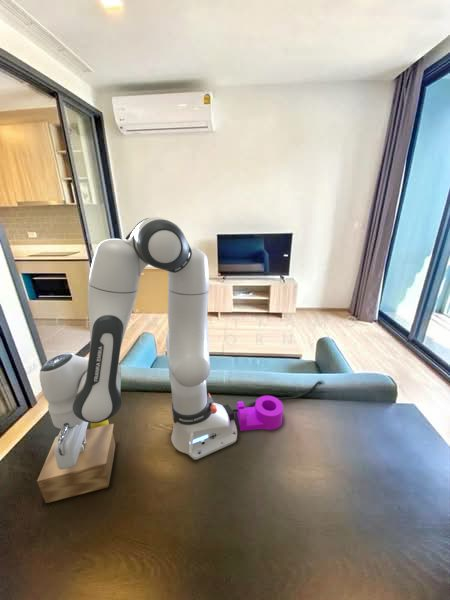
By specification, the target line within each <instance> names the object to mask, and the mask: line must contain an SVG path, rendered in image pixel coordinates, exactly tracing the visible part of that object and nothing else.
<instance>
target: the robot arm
mask: <svg viewBox="0 0 450 600" xmlns="http://www.w3.org/2000/svg"><path fill="white" fill-rule="evenodd" d="M148 266H151V267H153V268H155V269H159V270H162V271H166V272H167V277H168V282H167V325H168V330H167V334H166V337H165V349H166V357H167V364H168V365H167V366H168V373H169V382H170V390H171V398H172V399H171V400H172V402H171V416H172V421H173V428H172V431H171V437H170V438H171V443H172V446H173V447H174V448H175V449H176V450H177V451H178V452H180V453H183V454H186V455H188V456H189V457H190V458H191V459H192V460H197V461H198V460H199V459H202V458H203V457H207V456H208V455H211V454H212V453H215V452H218V451H220V450H221V449H224V448H226V447H228V446H230V445H232V444H235V443H236V442H237V440H238V429H237V425H236V422H235V413H237V412H238V410H237V408H235V409H232V408H231V406H230V405H229V404H228V403H226V404H223V405H222V404H220V403H217V402H214V399H213V398H212V396H211V393H209V392H208V389H207V380H208V377H209V376H210V373H211V360H210V359H211V358H210V337H209V336H210V335H209V326H208V325H209V324H208V321H209V320H208V313H209V312H208V310H209V297H210V295H209V294H210V269H209V261H208V256H207V255H206V253H205V252H204V251H202V250H201V249H199V248H197V247H193V246H190V244H189V242H188V240H187V237H186V236H185V234H184V232H183V231H182V229H181V228H180V227H179V226H178V225H177V224H175V223H174V222H172V221H170V220H168V219H166V218H163V217H157V216H154V217H146V218H144V219H142V220H140V221H139V222H137V224H136V225H135V226H134V227H133V229H132V230H131V231H130V232H129V233H128V234H127V235H126V237H125V238H124V239H120V238H109V239H105V240H102V241H100V243H99V244H98V245H97V247H96V249H95V252H94V255H93V258H92V261H91V266H90V270H89V274H88V275H89V276H88V283H87V311H88V322H89V339H90V340H89V341H90V342H89V352H88V354H89V355H88V357H86V356H80V355H77V354H75V353H72V352H65V353H64V352H63V353H60V354H57V355H55V356H53V357H51V358H50V359H48V360H47V361H46V362H44V364H43V365H42V366H41V368H40V370H39V382H40V387H41V391H42V395H43V397H44V399H45V400H46V401H47V404H48V405H47V406H48V407H47V409H48V413H49V415H50V419H51V423H52V425H53V427H55V428H56V429H60V431H59V433H58V435H57V436H58V437H57V436H56V437H57V440H56V442H55V447H54V451H55V457H56V462H57V465H58V468H59V469H66V468H70V467H73V466H75V465H76V462H77V459H78V456H79V453H82V452H84V449H85V445H86V439H85V436H86V430H88V425H89V424H91V423H100V422H103V421H105V420H107V419H108V420H109V419H111V418H112V417H113V416H115V415H116V414H117V413H118V412H120V409H121V406H122V395H121V392H122V391H121V389H122V367H121V364H120V363H119V362H120V355H121V349H122V344H123V340H124V337H125V334H126V331H127V328H128V325H129V322H130V320H131V317H132V314H133V311H134V309H135V305H136V301H137V297H138V292H139V287H140V278H141V276H142V273H143V271H144V270H145V268H146V267H148ZM319 384H322V381H317V382H316V383H315V384H314V385H313V386H312V387H311V388H310V389H308V390H307V391H305V392H303V393H300V394H298V395H295V396H288V397H287V396H285V397H276V398H277V399H279V400H280V401H283V400H284V401H285V400H295V399H298V398H301V397H303V396H306V395H307V394H309V393H311V392H312V391H313V390H314V389H315V388H316V387H317V386H318V385H319ZM255 403H256V400H255V401H254V402H252V403H251V404H250V405H249V406H248V407H254V406H255Z"/></svg>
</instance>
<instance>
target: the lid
mask: <svg viewBox="0 0 450 600" xmlns="http://www.w3.org/2000/svg"><path fill="white" fill-rule="evenodd" d="M114 427H115V425H114V423H109V425H105V426H101V427H96V428H92V429H91V428H87V429H86V436H85V439H86V445H85V449H84V452H82V453H79V456H78V459H77V462H76V465H75V466H73V467H70V468H66V469H59V468H58V465H57V462H56V457H55V451H54V447H55V442H56V440H57V437H58V435H57V436H55V438H54V440H53V443H52V445H51V447H50V450H49V452H48V455H47V457H46V459H45V461H44V464H43V466H42V468H41V470H40V472H39V475H38V478H37V479H36V483H37V484H38V483H41V482H45V481H48V480H52V479H56V478H60V477H63V476H67V475H71V474H75V473H79V472H82V471H86V470H90V469H94V468H97V467H101V466H105V465H107V460H108V454H109V449H110V443H111V438H112V432H114Z"/></svg>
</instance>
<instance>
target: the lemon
mask: <svg viewBox="0 0 450 600" xmlns="http://www.w3.org/2000/svg"><path fill="white" fill-rule="evenodd" d="M109 424H110V422H109V419H107V420H105V421H103V422H100V423H90V429H92V428H96V427H101V426H105V425H109Z"/></svg>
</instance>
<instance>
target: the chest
mask: <svg viewBox="0 0 450 600" xmlns="http://www.w3.org/2000/svg"><path fill="white" fill-rule="evenodd" d="M113 432H114V431H113ZM113 432H112V438H111V443H110V449H109V454H108V460H107V465H105V466H101V467H97V468H94V469H90V470H86V471H82V472H79V473H75V474H71V475H67V476H63V477H60V478H56V479H52V480H48V481H45V482H41V483H37V485H38V488H39V490H40V492H41V495H42V497H43V500H44V503H45V504H48V503H52V502H56V501H60V500H64V499H67V498H72V497H75V496H79V495H83V494H86V493H90V492H91V493H92V492H94V491H99V490H103V489H106V488H109V487H110V481H111V475H112V469H113V463H114V457H115V451H116V442H115V437H114V433H113Z"/></svg>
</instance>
